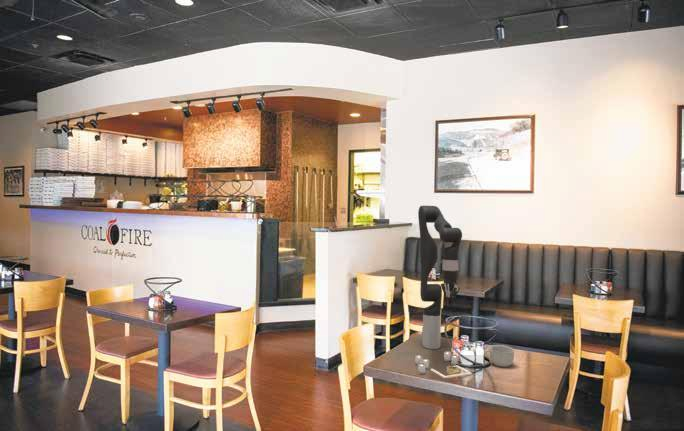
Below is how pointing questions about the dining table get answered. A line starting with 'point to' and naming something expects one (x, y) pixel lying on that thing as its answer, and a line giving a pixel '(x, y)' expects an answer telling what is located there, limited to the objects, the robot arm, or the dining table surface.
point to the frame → (453, 375)
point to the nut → (452, 370)
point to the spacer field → (424, 363)
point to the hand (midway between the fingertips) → (449, 304)
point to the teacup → (500, 355)
